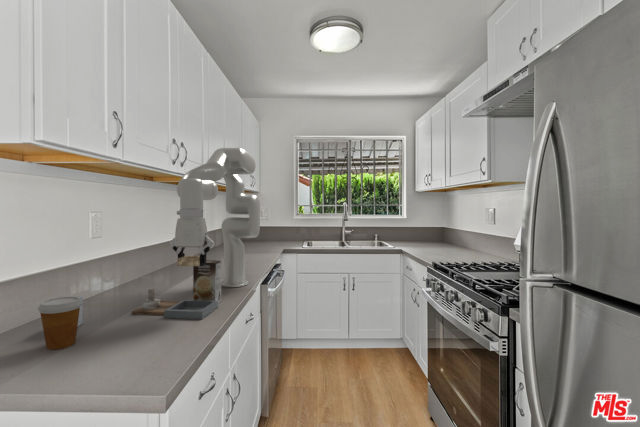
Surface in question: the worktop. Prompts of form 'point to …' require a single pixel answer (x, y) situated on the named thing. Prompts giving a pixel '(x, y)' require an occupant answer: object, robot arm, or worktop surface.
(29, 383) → the worktop surface
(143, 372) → the worktop surface
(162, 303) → the stake board
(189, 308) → the grey square tray
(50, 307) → the disposable coffee cup
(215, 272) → the brown food box
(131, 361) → the worktop surface
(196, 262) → the birch ring
